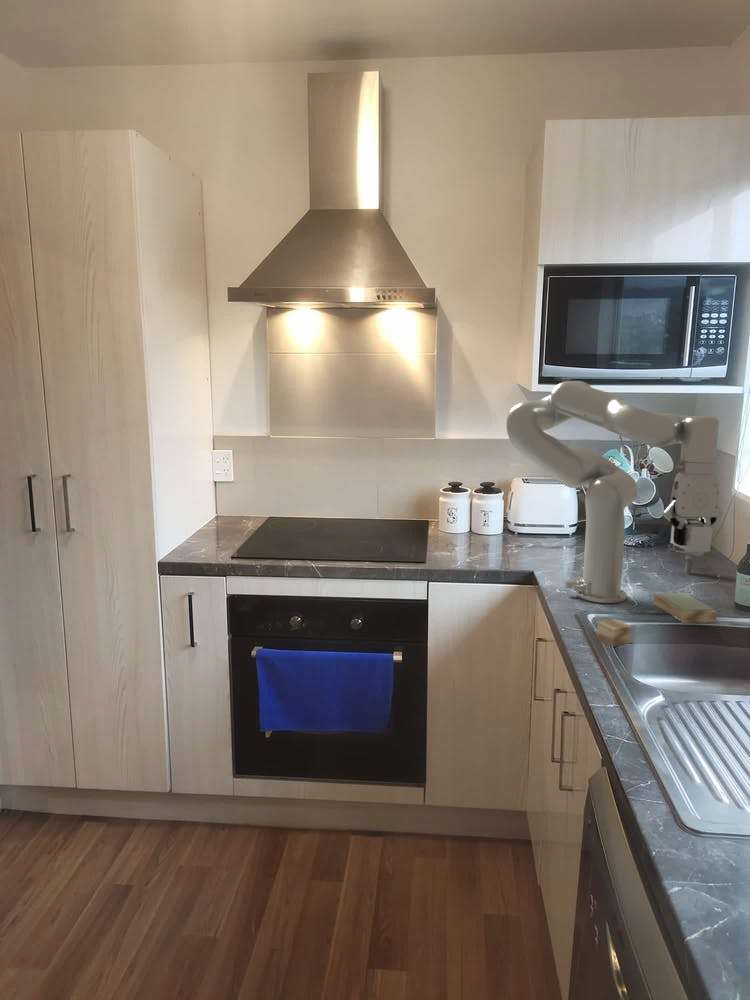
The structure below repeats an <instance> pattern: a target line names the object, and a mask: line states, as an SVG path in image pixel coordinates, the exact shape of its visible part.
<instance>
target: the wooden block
mask: <svg viewBox="0 0 750 1000" xmlns="http://www.w3.org/2000/svg"><path fill="white" fill-rule="evenodd" d="M653 605H655V606H657V607H658V608H659V609H661V610H662V611H664V612H665V611H666V612H665V613H667V612H668V613H670V614H672V615H674V616H676V617H677V618H678V619H680V621H681V622H680V621H679V622H680V623H682V624H702V623H703V624H704V623H705V624H706V623H707V622H713V623H716V622H717V612H718V611H716V610H714V609H713V608H712V607H710V606H709V605H706V604H705V603H703V602H702V601H699V600H698V599H696V598H695V597H693V596H692V595H690V594H688V593H686V592H676V593H675V592H672V593H671V592H670V593H669V592H668V593H666V592H665V593H654V600H653ZM668 613H667V614H668ZM670 614H669V615H670ZM707 624H708V623H707Z"/></svg>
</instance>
